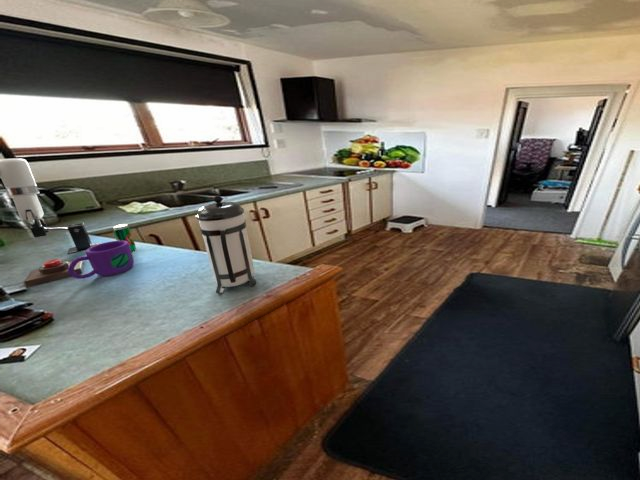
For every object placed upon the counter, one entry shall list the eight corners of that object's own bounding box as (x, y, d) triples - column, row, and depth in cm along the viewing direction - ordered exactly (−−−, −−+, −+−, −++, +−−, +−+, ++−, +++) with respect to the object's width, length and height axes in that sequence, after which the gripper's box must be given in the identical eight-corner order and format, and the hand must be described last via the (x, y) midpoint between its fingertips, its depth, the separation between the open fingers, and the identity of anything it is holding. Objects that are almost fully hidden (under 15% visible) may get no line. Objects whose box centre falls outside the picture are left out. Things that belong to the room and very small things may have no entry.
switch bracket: (68, 255, 115) (57, 230, 111) (70, 250, 121) (59, 225, 117) (101, 248, 122) (91, 224, 118) (101, 244, 127) (92, 220, 123)
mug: (125, 261, 109) (116, 238, 105) (143, 265, 105) (135, 241, 102) (65, 283, 93) (53, 257, 90) (84, 289, 89) (72, 262, 86)
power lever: (37, 233, 109) (36, 227, 109) (39, 230, 112) (39, 225, 112) (81, 232, 117) (81, 227, 117) (82, 230, 121) (82, 224, 120)
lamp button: (44, 269, 96) (42, 265, 95) (46, 266, 98) (44, 261, 98) (61, 265, 98) (59, 261, 98) (62, 262, 101) (60, 258, 100)
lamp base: (27, 287, 91) (21, 276, 90) (33, 275, 99) (28, 266, 98) (82, 273, 100) (78, 263, 99) (84, 264, 107) (80, 254, 106)
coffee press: (197, 291, 86) (171, 200, 77) (239, 268, 100) (221, 189, 91) (236, 302, 80) (214, 205, 71) (275, 276, 94) (261, 192, 85)
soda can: (120, 252, 117) (110, 226, 114) (135, 248, 121) (126, 223, 117) (123, 255, 115) (113, 228, 111) (138, 250, 119) (129, 225, 115)
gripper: (13, 189, 109) (31, 231, 115) (1, 195, 97) (22, 242, 103) (42, 187, 114) (58, 227, 120) (34, 192, 102) (52, 237, 108)
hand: (41, 234), depth 111 cm, fingers closed on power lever, 5 cm apart
